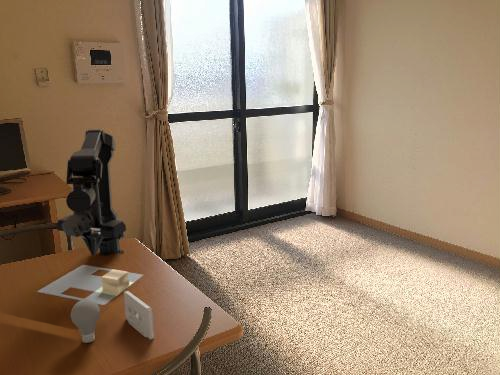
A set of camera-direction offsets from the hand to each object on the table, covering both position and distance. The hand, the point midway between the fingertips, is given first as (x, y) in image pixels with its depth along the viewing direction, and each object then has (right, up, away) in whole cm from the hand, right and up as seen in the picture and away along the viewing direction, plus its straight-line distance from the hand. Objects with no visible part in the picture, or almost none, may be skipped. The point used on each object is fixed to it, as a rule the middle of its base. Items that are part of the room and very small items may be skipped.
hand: (94, 254), depth 116 cm
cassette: (+17, -15, -17) cm, 28 cm away
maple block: (+6, -9, -1) cm, 11 cm away
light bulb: (+7, -16, -22) cm, 28 cm away
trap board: (-1, -10, +2) cm, 10 cm away
